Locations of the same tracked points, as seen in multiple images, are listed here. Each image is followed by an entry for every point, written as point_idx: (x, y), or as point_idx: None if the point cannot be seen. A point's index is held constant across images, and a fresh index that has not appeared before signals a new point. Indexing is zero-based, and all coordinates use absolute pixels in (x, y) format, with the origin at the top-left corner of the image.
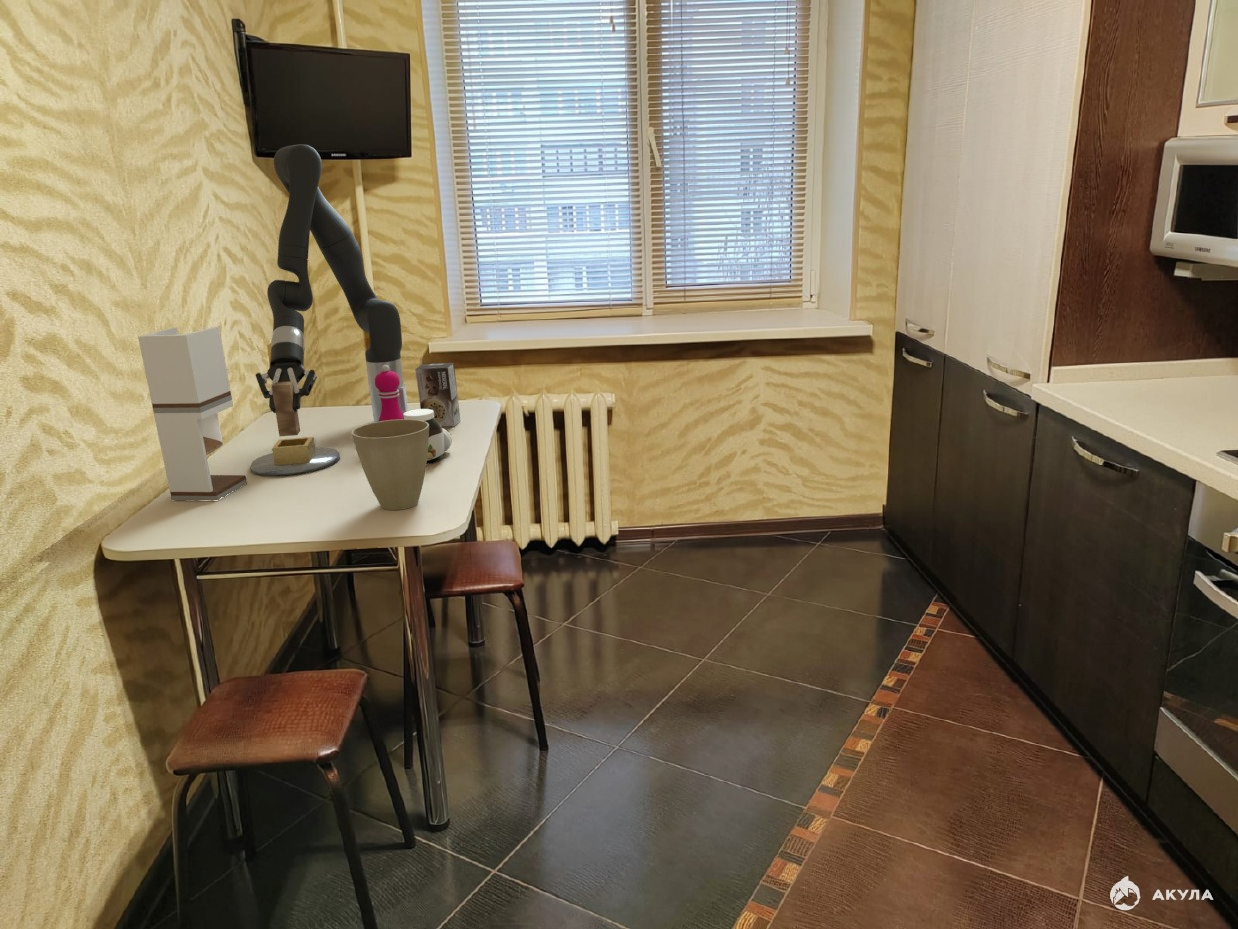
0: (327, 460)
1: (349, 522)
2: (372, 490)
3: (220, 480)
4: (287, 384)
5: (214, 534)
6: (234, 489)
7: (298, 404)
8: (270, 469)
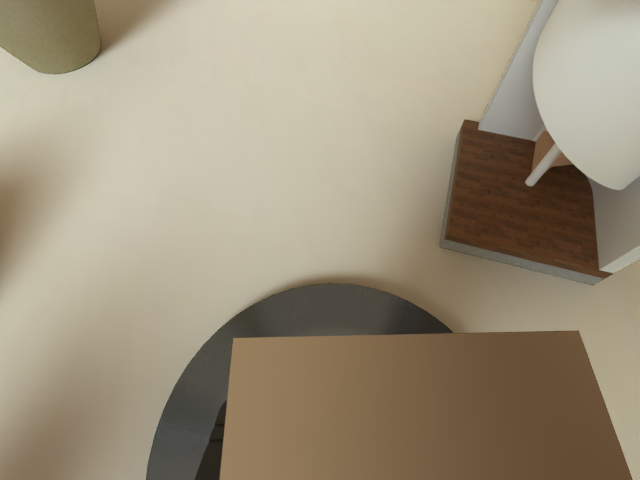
0: (198, 382)
1: (164, 7)
2: (94, 8)
3: (506, 202)
4: (279, 357)
5: (379, 6)
6: (449, 191)
7: (226, 402)
8: (398, 320)
